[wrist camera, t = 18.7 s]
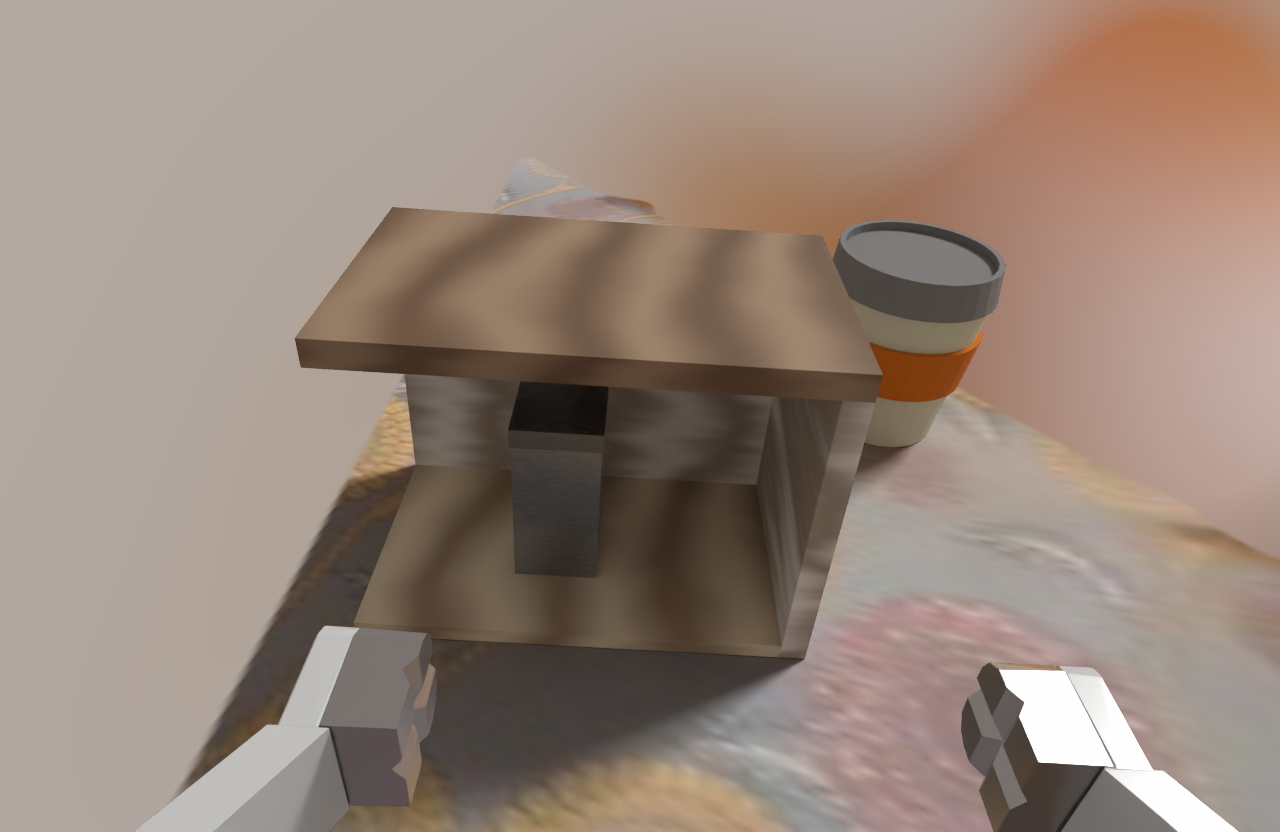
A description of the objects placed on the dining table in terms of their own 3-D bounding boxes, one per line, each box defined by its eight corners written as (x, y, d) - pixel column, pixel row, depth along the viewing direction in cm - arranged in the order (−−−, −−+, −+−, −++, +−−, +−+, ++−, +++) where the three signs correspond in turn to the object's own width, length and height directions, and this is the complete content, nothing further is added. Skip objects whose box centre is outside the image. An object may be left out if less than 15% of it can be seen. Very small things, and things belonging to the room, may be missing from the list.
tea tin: (602, 522, 54) (609, 384, 48) (597, 579, 50) (604, 436, 44) (524, 517, 54) (521, 378, 48) (513, 574, 50) (507, 429, 44)
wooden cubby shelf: (772, 483, 60) (822, 235, 49) (804, 658, 47) (882, 375, 36) (421, 462, 60) (392, 207, 49) (355, 634, 47) (294, 338, 35)
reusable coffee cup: (772, 392, 71) (802, 229, 62) (883, 365, 76) (925, 211, 67) (865, 476, 62) (915, 299, 53) (984, 440, 67) (1047, 272, 58)
